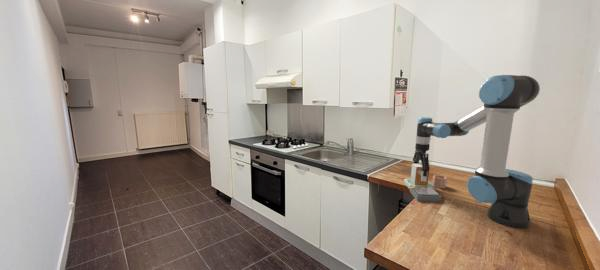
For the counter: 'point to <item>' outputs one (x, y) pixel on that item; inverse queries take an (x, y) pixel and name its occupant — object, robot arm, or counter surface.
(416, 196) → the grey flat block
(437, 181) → the cup
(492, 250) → the counter surface
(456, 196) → the counter surface
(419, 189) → the grey flat square panel
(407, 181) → the mint green tray
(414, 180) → the small box
